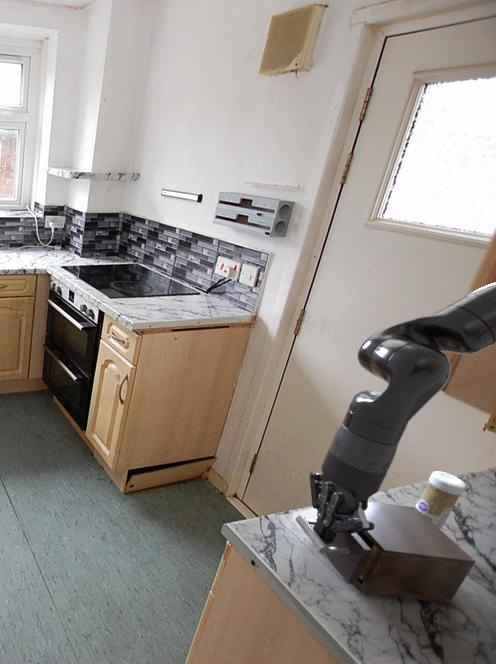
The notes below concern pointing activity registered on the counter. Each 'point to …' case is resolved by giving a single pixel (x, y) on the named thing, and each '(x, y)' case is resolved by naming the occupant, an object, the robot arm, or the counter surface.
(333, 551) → the drawer
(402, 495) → the counter surface
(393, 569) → the cabinet
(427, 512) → the sprinkles bottle
